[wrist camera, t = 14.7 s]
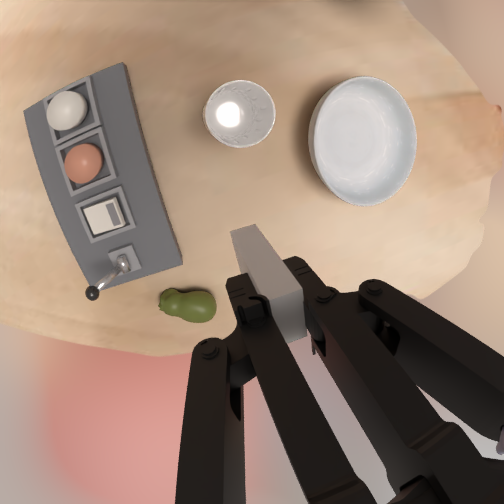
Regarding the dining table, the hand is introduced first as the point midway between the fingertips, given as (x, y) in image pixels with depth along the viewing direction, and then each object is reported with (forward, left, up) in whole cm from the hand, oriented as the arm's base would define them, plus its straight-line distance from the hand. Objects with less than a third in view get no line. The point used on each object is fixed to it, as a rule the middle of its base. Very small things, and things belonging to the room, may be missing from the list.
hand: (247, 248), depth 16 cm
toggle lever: (+15, +9, -22) cm, 28 cm away
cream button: (+15, -15, -22) cm, 30 cm away
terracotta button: (+15, -7, -23) cm, 28 cm away
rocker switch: (+15, +1, -22) cm, 27 cm away
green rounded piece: (+9, +21, -27) cm, 35 cm away
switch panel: (+15, -3, -26) cm, 31 cm away
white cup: (-5, -7, -27) cm, 28 cm away
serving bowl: (-25, 0, -27) cm, 37 cm away
